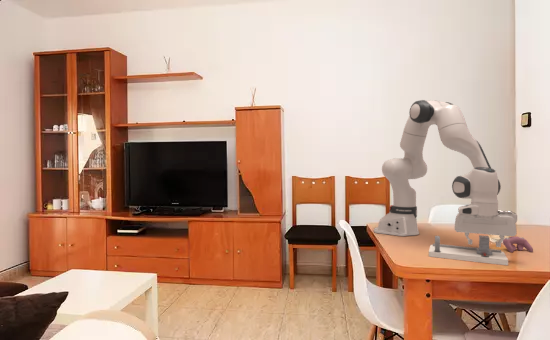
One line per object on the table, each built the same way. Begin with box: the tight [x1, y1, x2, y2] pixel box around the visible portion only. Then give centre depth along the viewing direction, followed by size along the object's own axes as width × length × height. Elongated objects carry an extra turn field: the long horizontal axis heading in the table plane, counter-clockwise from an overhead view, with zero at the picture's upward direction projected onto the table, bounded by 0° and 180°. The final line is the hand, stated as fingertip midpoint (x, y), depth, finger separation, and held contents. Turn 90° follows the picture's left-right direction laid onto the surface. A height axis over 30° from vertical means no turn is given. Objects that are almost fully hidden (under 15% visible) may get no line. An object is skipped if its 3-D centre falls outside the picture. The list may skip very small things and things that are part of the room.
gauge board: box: [428, 235, 509, 266], centre depth 133 cm, size 26×12×8 cm, turn 62°
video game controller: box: [502, 236, 534, 254], centre depth 141 cm, size 10×5×7 cm, turn 93°
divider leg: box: [475, 234, 492, 256], centre depth 129 cm, size 5×7×6 cm
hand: (484, 245), depth 130 cm, fingers open, 8 cm apart
